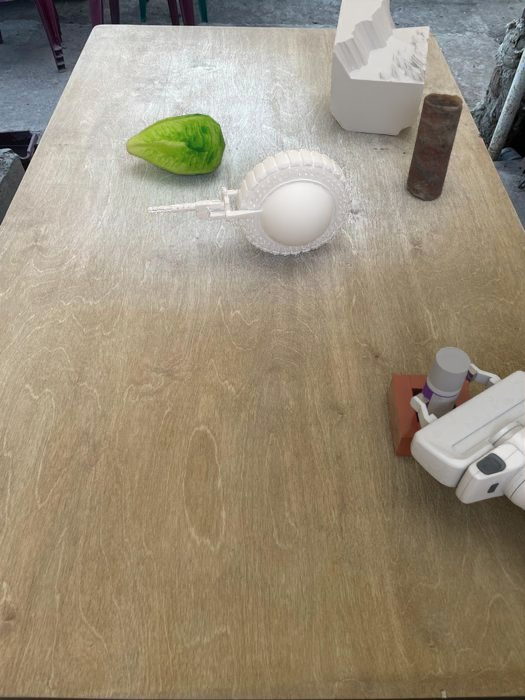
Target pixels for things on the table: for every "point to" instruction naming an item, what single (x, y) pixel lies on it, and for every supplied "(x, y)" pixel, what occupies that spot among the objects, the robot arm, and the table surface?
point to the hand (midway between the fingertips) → (440, 382)
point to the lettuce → (181, 144)
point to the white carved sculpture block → (376, 69)
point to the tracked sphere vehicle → (283, 203)
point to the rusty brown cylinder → (434, 144)
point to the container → (445, 380)
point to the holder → (410, 409)
